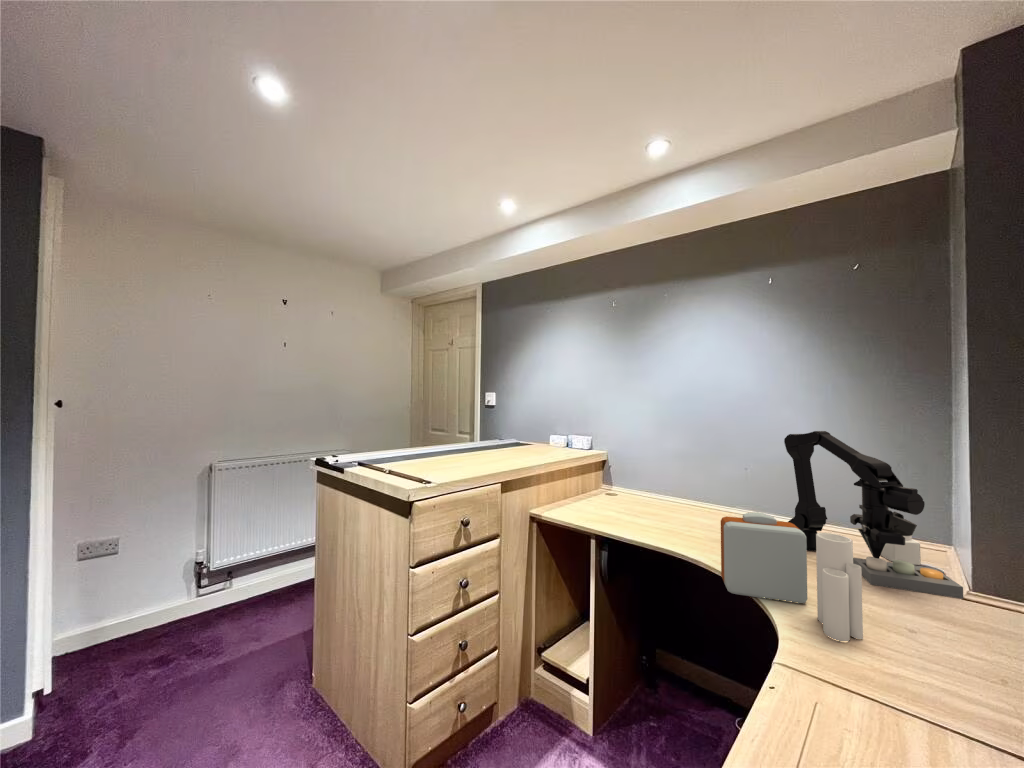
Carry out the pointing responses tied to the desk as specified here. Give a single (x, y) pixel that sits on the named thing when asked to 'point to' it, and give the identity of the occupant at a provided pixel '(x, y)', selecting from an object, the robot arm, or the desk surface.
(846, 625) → the vase
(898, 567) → the button sage
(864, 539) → the robot arm
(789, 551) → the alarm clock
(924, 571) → the button orange
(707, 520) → the desk surface
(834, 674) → the desk surface
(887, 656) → the desk surface
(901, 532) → the medicine bottle
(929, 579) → the grey compartment tray
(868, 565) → the button ivory
